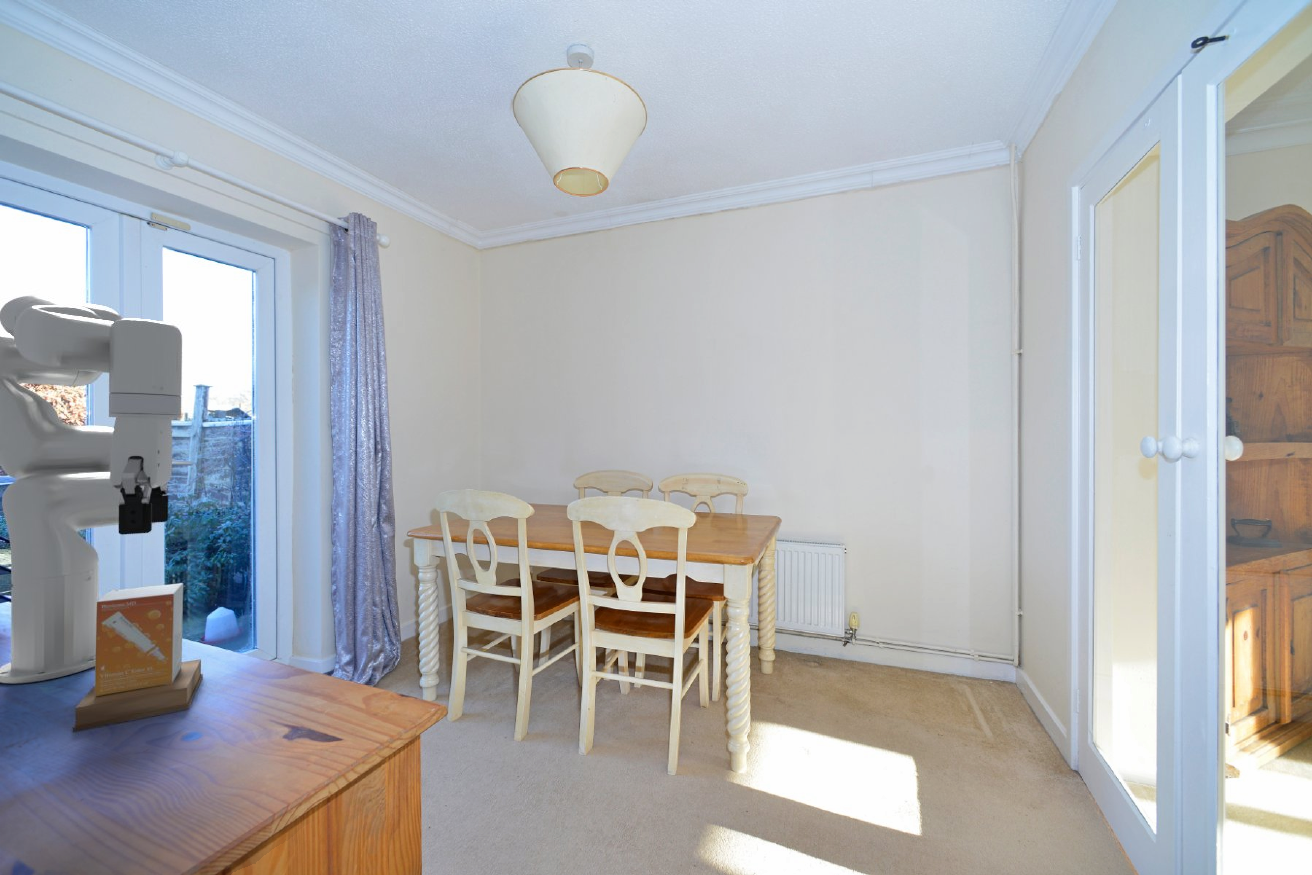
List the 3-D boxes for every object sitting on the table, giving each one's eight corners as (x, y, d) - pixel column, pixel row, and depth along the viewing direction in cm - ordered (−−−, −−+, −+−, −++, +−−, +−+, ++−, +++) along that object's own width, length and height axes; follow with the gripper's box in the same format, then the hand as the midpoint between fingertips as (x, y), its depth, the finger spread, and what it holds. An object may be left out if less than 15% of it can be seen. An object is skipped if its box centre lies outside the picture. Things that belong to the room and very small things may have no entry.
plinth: (102, 694, 79) (102, 674, 79) (202, 677, 85) (202, 658, 85) (72, 732, 69) (72, 708, 69) (188, 709, 76) (188, 687, 76)
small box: (93, 698, 72) (94, 601, 72) (109, 679, 78) (109, 589, 77) (173, 684, 77) (174, 592, 76) (183, 667, 82) (183, 581, 82)
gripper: (128, 408, 82) (126, 520, 82) (87, 405, 68) (86, 541, 68) (192, 410, 86) (190, 517, 86) (167, 407, 72) (165, 535, 72)
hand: (144, 527), depth 77 cm, fingers open, 9 cm apart
